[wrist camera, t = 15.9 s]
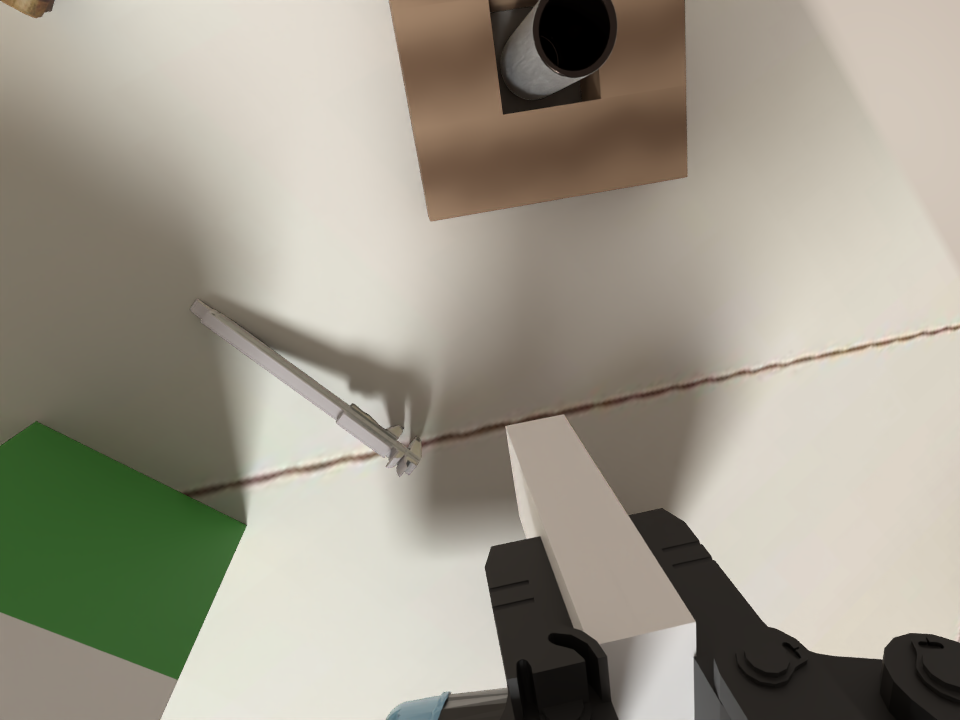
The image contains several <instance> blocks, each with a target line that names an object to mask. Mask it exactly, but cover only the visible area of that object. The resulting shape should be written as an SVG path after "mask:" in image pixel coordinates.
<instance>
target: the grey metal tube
mask: <svg viewBox="0 0 960 720" xmlns="http://www.w3.org/2000/svg"><path fill="white" fill-rule="evenodd" d="M616 37H617V15H616V11H615V8H614V5H613V3H612V1H611V0H539V1H538V2H537V4H536V5H535V6H534V7H533V9H532V10H531V11H530V12H529V14H528V15H527V16H526V17H525V19H524V20H523V21H522V22H521V24H520V25H519V26H518V27H517V29H516V30H515V31H514V32H513V34H512V35H511V36H510V38H509V39H508V41H507V42H506V44H505V46H504V48H503V51H502V55H501V63H500V66H501V73H502V77H503V80H504V82H505V84H506V85H507V87H508V88H509V89H510V90H511V91H512V92H513V93H514V94H515V95H517V96H518V97H520V98H523V99H526V100H537V99H541V98H544V97H547V96H549V95H551V94H553V93H555V92H557V91H559V90H561V89H563V88H565V87H567V86H569V85H571V84H573V83H575V82H576V81H578V80H580V79H582V78H584V77H586V76H588V75H590V74H592V73H594V72H595V71H597V70H598V69H599V68H600V67H601V66H602V65H603V64H604V63H605V62H606V60H607V59H608V58H609V56H610V54H611V52H612V50H613V48H614V45H615V41H616Z"/></svg>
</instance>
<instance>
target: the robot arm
mask: <svg viewBox="0 0 960 720" xmlns="http://www.w3.org/2000/svg"><path fill="white" fill-rule="evenodd" d="M505 427H506V434H507V440H508V447H509V453H510V460H511V466H512V472H513V479H514V485H515V492H516V498H517V505H518V511H519V517H520V520H521V523H522V526H523V529H524V532H525V536H526V539H524V540H520V541H515V542H510V543H506V544H501V545H496V546H492V547H491V549H490V552H489V556H488V559H487V562H486V565H485V571H486V577H487V582H488V587H489V592H490V598H491V603H492V608H493V614H494V619H495V624H496V629H497V634H498V640H499V645H500V650H501V655H502V660H503V665H504V670H505V675H506V681H507V688H502V689H493V690H484V691H476V692H467V693H458V694H451V692H444V693H443V694H442V695H441V696H435V697H430V698H424V699H419V700H413V701H408V702H404V703H401V704H399V705H398V706H396V707H395V708H394V709H393V710H392V711H391V712H390V714H389V715H388V716H387V718H386V720H960V643H959V642H956V641H953V640H949V639H946V638H943V637H939V636H936V635H933V634H917V633H909V634H906V635H902V636H899V637H895V638H893V639H892V640H891V642H890V643H889V644H888V645H887V646H886V647H885V649H884V655H883V660H881V659H867V658H853V657H839V656H830V655H824V654H817V653H814V652H811V651H809V650H807V649H806V648H805V647H804V646H803V645H802V644H801V643H800V642H799V641H798V640H796V639H795V638H793V637H791V636H789V635H787V634H785V633H784V632H782V631H780V630H778V629H775V628H771V627H768V626H767V625H766V624H765V623H764V622H763V621H762V620H761V619H760V618H759V616H758V615H757V614H756V612H755V611H754V610H753V609H752V607H751V606H750V605H749V604H748V602H747V601H746V600H745V598H744V597H743V596H742V595H741V593H740V592H739V591H738V590H737V588H736V587H735V586H734V584H733V583H732V582H731V581H730V579H729V578H728V577H727V575H726V574H725V573H724V572H723V570H722V569H721V568H720V567H719V565H718V564H717V563H716V561H715V560H712V557H711V555H710V554H709V553H708V551H707V550H706V549H705V547H704V546H703V545H702V544H701V545H700V542H699V540H698V538H697V537H696V536H695V535H694V533H693V532H692V531H691V530H690V528H689V527H688V526H687V524H686V523H685V522H684V521H682V520H681V519H679V518H677V517H676V516H674V515H673V514H671V513H669V512H668V511H666V510H664V509H663V508H661V509H656V510H651V511H647V512H642V513H637V514H633V515H628V514H627V513H626V511H625V510H624V508H623V506H622V505H621V503H620V502H619V500H618V499H617V497H616V495H615V494H614V492H613V491H612V489H611V488H610V486H609V484H608V483H607V481H606V480H605V478H604V477H603V475H602V473H601V472H600V470H599V469H598V467H597V466H596V464H595V462H594V461H593V459H592V458H591V456H590V455H589V453H588V451H587V450H586V448H585V447H584V445H583V444H582V442H581V440H580V439H579V437H578V436H577V434H576V433H575V431H574V429H573V428H572V426H571V425H570V423H569V422H568V420H567V418H566V417H565V415H564V414H563V415H558V416H553V417H548V418H543V419H538V420H533V421H528V422H523V423H518V424H513V425H508V426H505Z"/></svg>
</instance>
